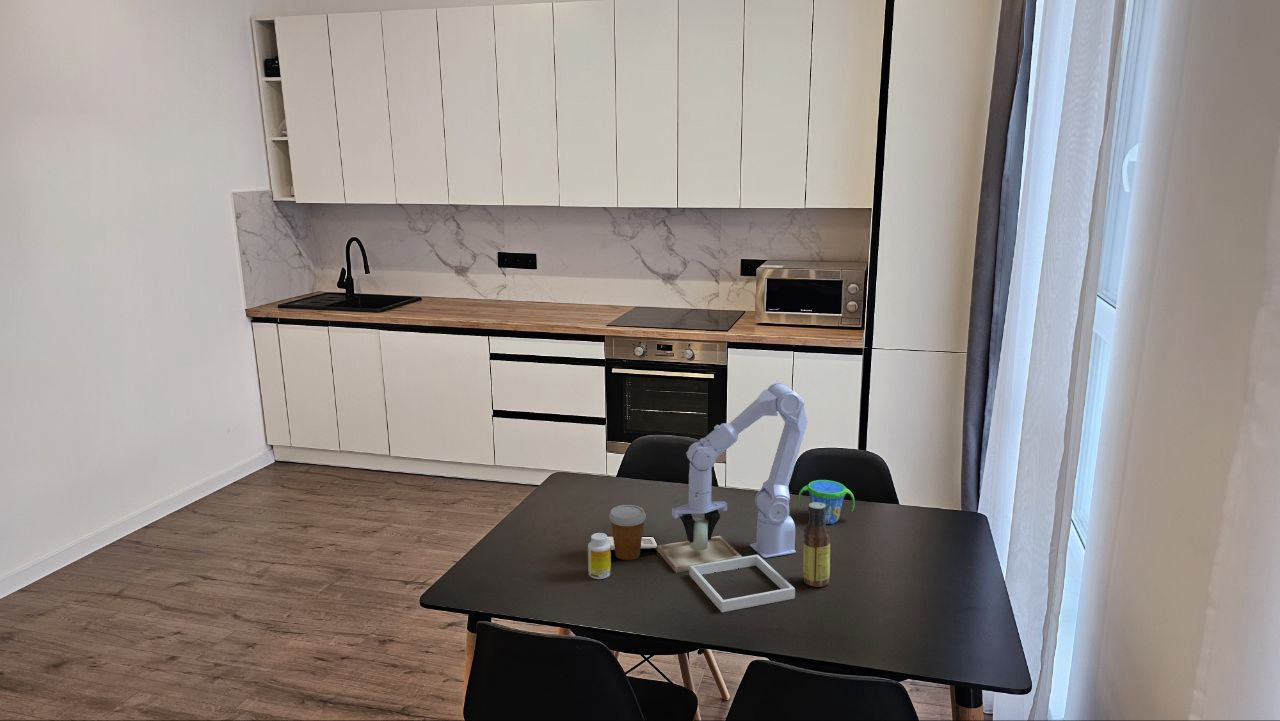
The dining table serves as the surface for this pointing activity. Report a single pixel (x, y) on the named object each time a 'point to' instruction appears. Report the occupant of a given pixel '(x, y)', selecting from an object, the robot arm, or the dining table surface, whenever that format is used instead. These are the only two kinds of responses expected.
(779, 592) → the white hollow square frame
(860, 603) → the dining table surface
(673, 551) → the birch tray
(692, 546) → the sage cylinder
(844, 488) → the snack cup
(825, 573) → the sauce bottle
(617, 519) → the disposable coffee cup
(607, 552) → the supplement bottle
